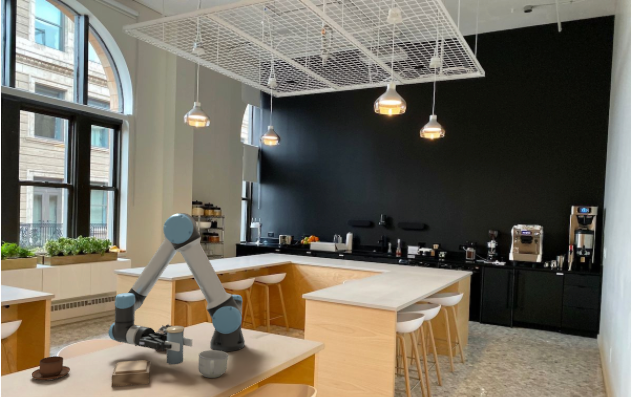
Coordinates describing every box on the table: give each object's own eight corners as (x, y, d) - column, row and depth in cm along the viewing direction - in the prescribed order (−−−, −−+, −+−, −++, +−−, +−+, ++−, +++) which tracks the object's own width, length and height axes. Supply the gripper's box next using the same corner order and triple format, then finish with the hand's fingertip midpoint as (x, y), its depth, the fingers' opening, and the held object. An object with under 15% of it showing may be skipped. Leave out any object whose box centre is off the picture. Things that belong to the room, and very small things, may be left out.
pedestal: (149, 371, 173) (150, 358, 173) (148, 383, 162) (149, 370, 162) (115, 374, 169) (115, 361, 169) (111, 386, 158) (111, 372, 158)
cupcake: (164, 343, 208) (165, 321, 208) (180, 347, 203) (181, 324, 203) (147, 349, 199) (148, 326, 199) (164, 353, 195) (165, 329, 195)
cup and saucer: (23, 379, 162) (24, 362, 162) (53, 368, 173) (54, 352, 173) (47, 385, 158) (48, 367, 158) (77, 374, 169) (78, 357, 169)
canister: (183, 358, 179) (183, 325, 179) (183, 363, 173) (184, 329, 173) (166, 359, 177) (166, 326, 177) (165, 365, 171) (166, 330, 171)
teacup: (202, 369, 177) (203, 348, 177) (230, 370, 177) (231, 349, 177) (191, 383, 163) (192, 360, 164) (221, 384, 163) (222, 362, 163)
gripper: (159, 339, 192) (202, 348, 181) (121, 352, 175) (166, 362, 164) (159, 321, 192) (202, 329, 181) (121, 332, 175) (166, 341, 164)
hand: (185, 345), depth 173 cm, fingers closed on canister, 6 cm apart
